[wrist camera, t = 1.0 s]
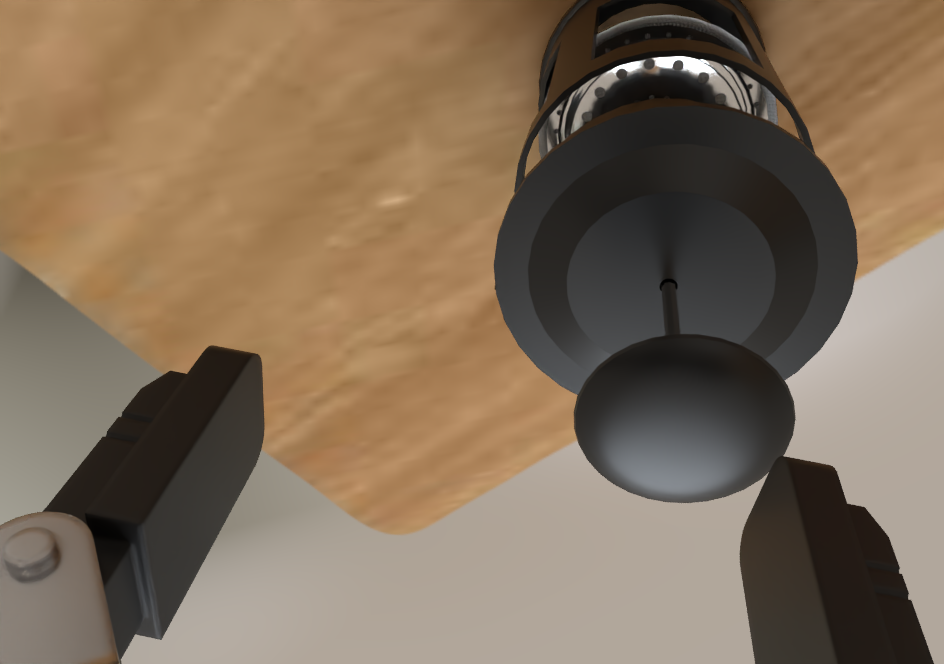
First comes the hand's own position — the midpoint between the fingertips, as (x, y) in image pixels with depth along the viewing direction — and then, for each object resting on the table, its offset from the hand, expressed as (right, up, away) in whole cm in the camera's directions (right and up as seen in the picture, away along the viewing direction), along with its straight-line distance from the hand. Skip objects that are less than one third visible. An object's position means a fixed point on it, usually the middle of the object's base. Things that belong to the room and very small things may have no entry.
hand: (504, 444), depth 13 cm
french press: (+7, +12, +22) cm, 26 cm away
